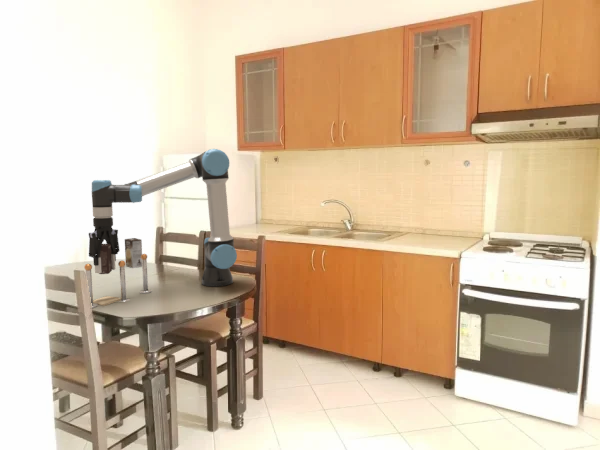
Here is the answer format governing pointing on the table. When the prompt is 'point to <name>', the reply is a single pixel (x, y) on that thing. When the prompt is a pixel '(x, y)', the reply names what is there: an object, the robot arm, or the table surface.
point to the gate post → (145, 275)
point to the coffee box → (133, 252)
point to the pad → (106, 300)
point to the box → (106, 259)
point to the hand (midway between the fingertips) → (105, 270)
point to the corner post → (122, 282)
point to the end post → (90, 282)
